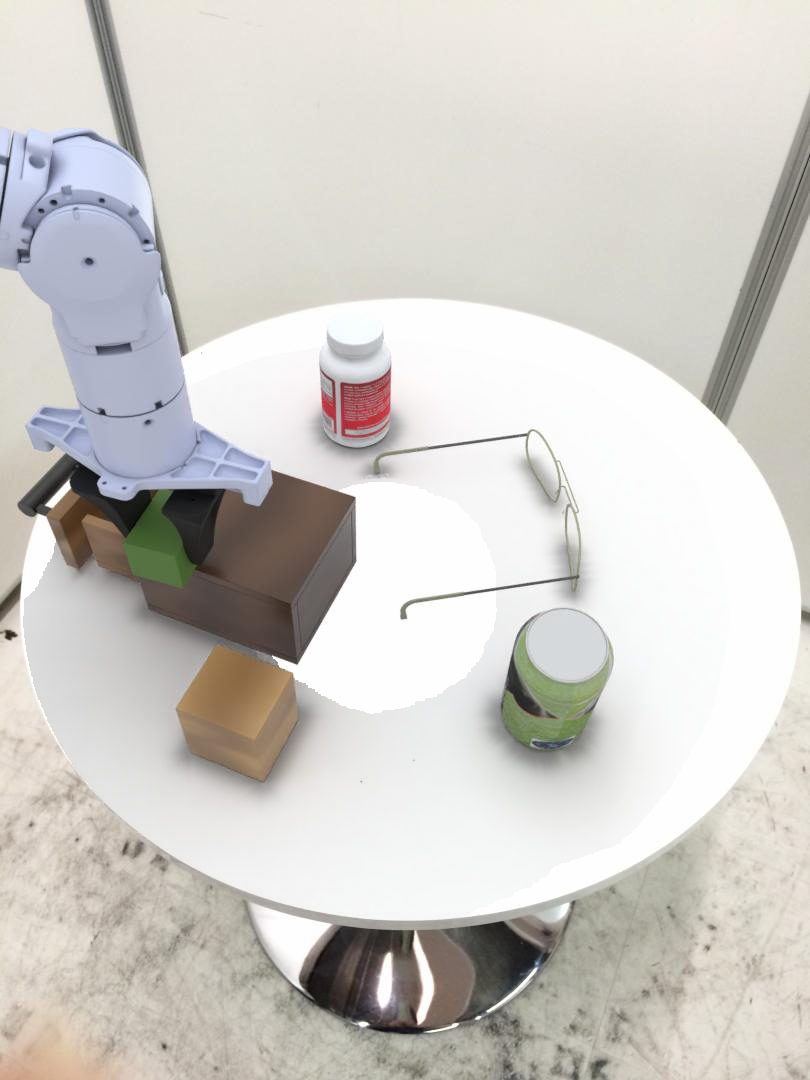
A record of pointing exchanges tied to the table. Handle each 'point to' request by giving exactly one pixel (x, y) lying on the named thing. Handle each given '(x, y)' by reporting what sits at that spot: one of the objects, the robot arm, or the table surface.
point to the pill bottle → (355, 380)
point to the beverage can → (555, 677)
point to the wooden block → (239, 712)
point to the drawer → (77, 522)
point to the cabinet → (268, 568)
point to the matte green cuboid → (158, 546)
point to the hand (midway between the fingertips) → (172, 545)
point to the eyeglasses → (377, 470)
